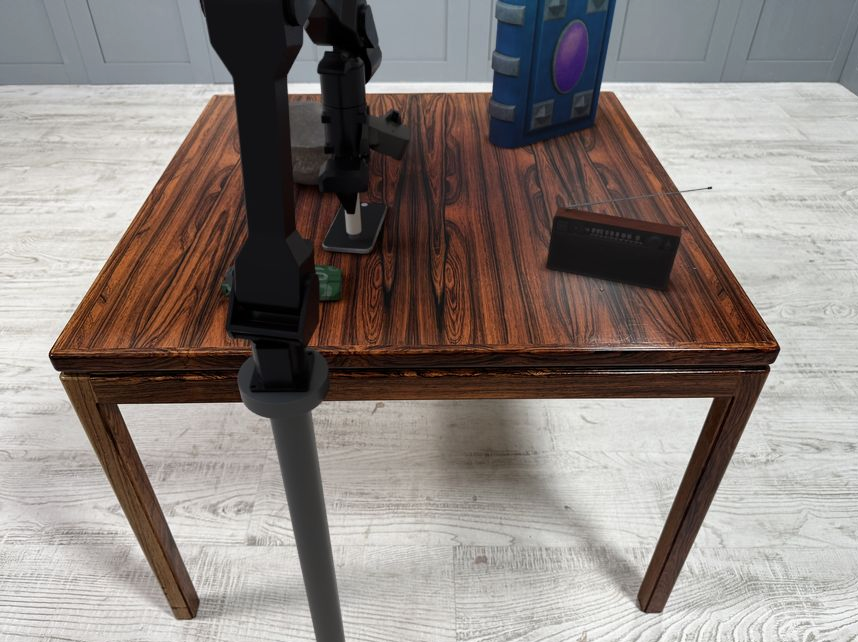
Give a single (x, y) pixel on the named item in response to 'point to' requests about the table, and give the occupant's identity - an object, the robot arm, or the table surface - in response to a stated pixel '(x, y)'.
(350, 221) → the white cylinder
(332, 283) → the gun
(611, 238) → the radio
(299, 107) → the bowl
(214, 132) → the table surface
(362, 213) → the smartphone
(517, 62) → the book
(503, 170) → the table surface
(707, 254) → the table surface
